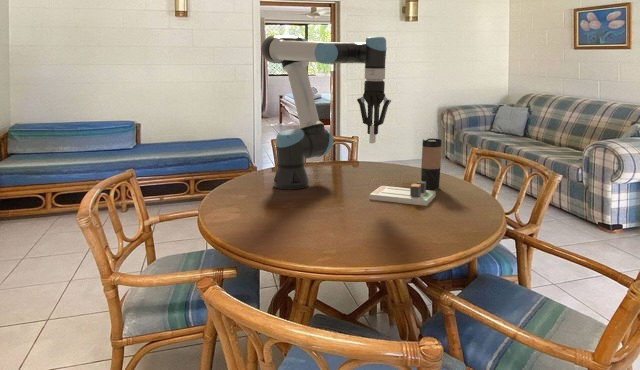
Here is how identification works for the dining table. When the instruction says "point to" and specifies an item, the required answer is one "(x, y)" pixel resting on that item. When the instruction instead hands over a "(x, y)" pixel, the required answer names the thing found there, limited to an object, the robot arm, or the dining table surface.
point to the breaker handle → (415, 190)
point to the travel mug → (431, 163)
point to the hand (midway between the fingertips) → (372, 142)
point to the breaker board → (403, 195)
